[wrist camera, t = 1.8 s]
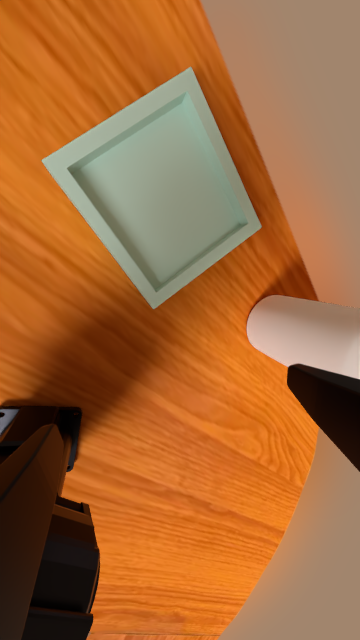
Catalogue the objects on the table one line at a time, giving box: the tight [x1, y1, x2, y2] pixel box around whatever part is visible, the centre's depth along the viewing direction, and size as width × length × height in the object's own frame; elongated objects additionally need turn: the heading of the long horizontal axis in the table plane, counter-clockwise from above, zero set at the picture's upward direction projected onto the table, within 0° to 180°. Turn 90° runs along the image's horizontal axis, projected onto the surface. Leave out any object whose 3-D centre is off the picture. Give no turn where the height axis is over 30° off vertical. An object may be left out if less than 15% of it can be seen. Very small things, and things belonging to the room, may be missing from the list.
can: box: [247, 295, 360, 379], centre depth 18 cm, size 6×6×12 cm
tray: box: [41, 67, 262, 309], centre depth 17 cm, size 12×12×2 cm
